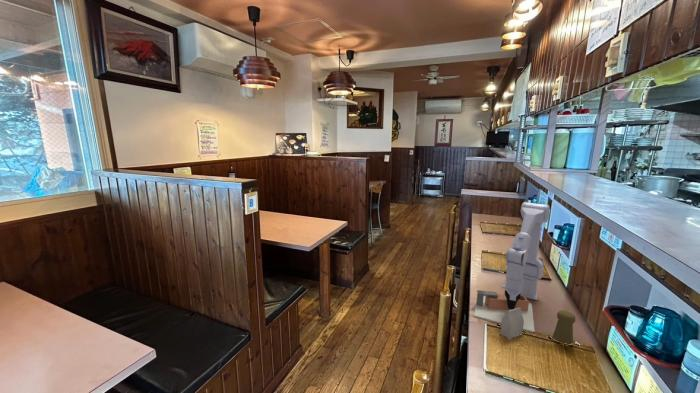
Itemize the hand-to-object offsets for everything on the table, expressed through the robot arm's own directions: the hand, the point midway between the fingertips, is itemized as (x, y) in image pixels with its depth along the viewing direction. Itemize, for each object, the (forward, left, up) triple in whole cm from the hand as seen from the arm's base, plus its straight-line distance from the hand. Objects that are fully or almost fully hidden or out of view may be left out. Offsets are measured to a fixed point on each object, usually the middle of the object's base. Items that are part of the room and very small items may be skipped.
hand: (510, 308), depth 118 cm
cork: (+10, +16, -3) cm, 19 cm away
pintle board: (-1, -3, -2) cm, 4 cm away
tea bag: (+15, 0, -3) cm, 15 cm away
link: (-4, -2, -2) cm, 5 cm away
